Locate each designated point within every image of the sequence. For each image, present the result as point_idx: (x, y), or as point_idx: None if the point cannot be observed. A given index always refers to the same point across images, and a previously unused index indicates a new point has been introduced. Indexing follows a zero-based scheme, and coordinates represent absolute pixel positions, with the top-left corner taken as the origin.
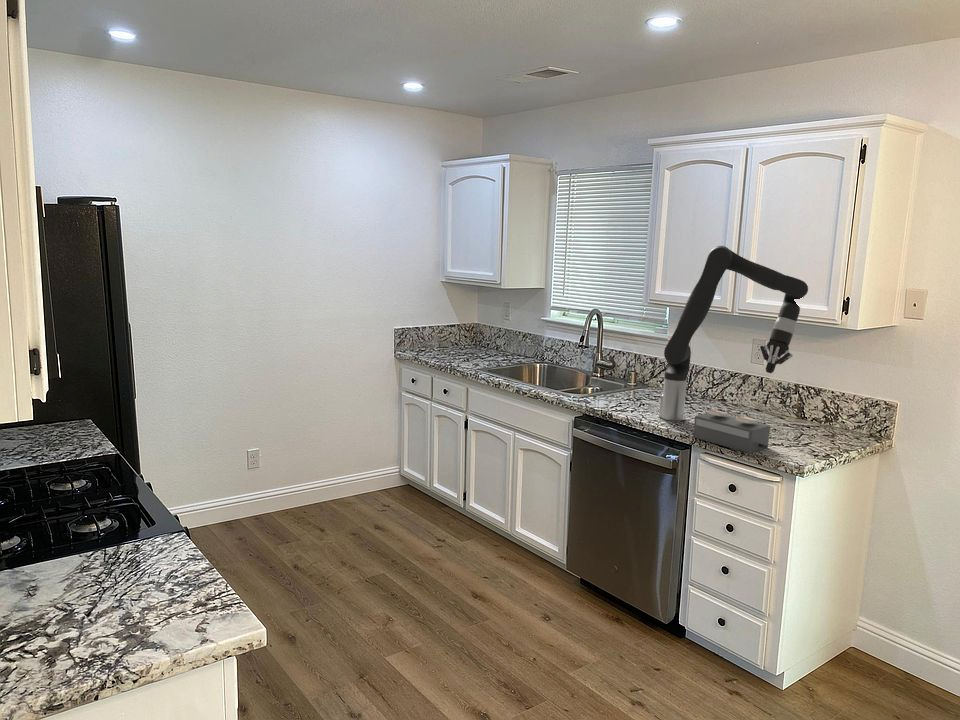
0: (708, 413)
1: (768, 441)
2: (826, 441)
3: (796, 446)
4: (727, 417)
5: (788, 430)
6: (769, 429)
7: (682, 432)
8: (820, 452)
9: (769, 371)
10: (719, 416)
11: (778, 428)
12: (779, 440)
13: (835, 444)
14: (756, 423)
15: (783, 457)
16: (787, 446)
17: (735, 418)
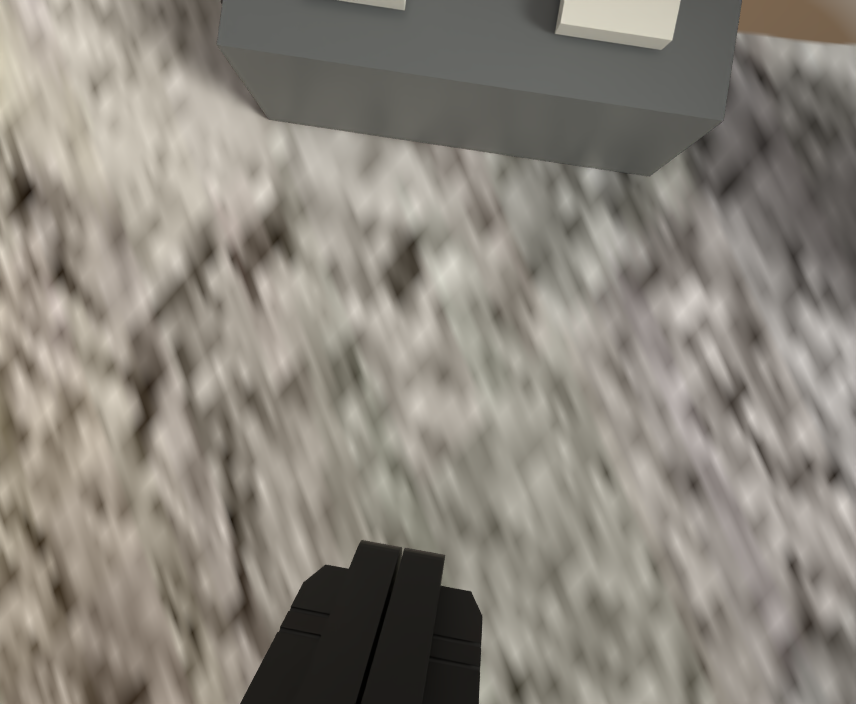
0: (724, 33)
1: (256, 101)
2: (81, 556)
3: (168, 298)
4: None
5: None
6: (228, 56)
7: (780, 52)
8: (25, 280)
9: (362, 548)
10: None
11: None
12: (288, 350)
13: (21, 529)
14: (316, 21)
15: (136, 8)
16: (205, 255)
17: (499, 45)
